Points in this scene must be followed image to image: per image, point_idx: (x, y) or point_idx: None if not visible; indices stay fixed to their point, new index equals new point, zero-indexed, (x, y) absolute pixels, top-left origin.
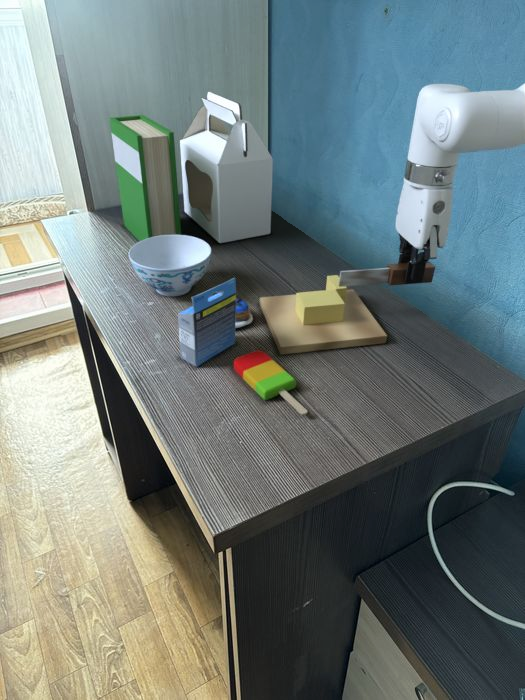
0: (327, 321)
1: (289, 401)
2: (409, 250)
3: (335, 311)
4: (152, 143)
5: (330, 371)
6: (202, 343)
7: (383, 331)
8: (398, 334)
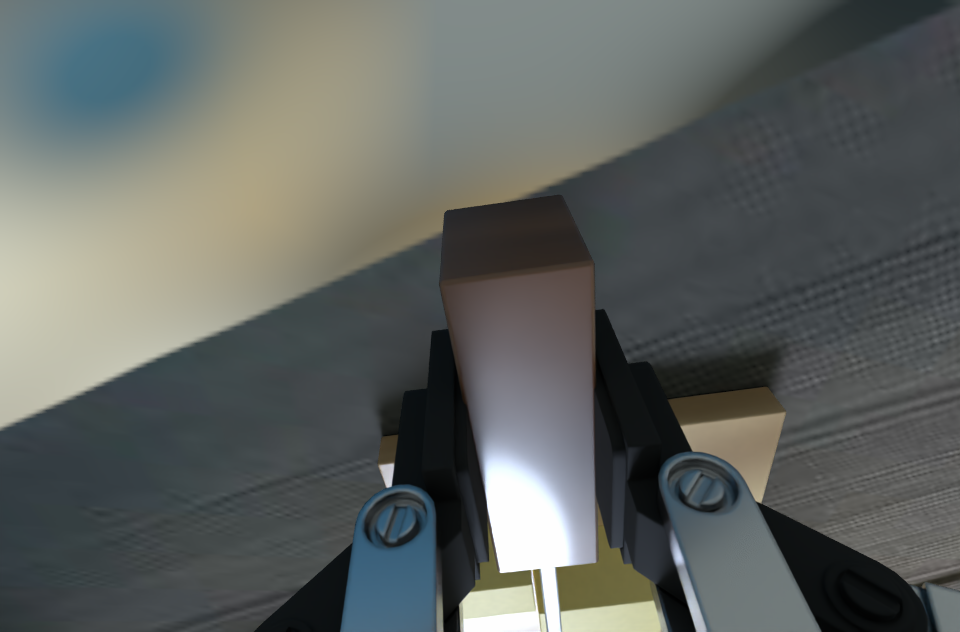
0: None
1: None
2: (461, 573)
3: None
4: None
5: (834, 533)
6: None
7: (753, 418)
8: (724, 327)
